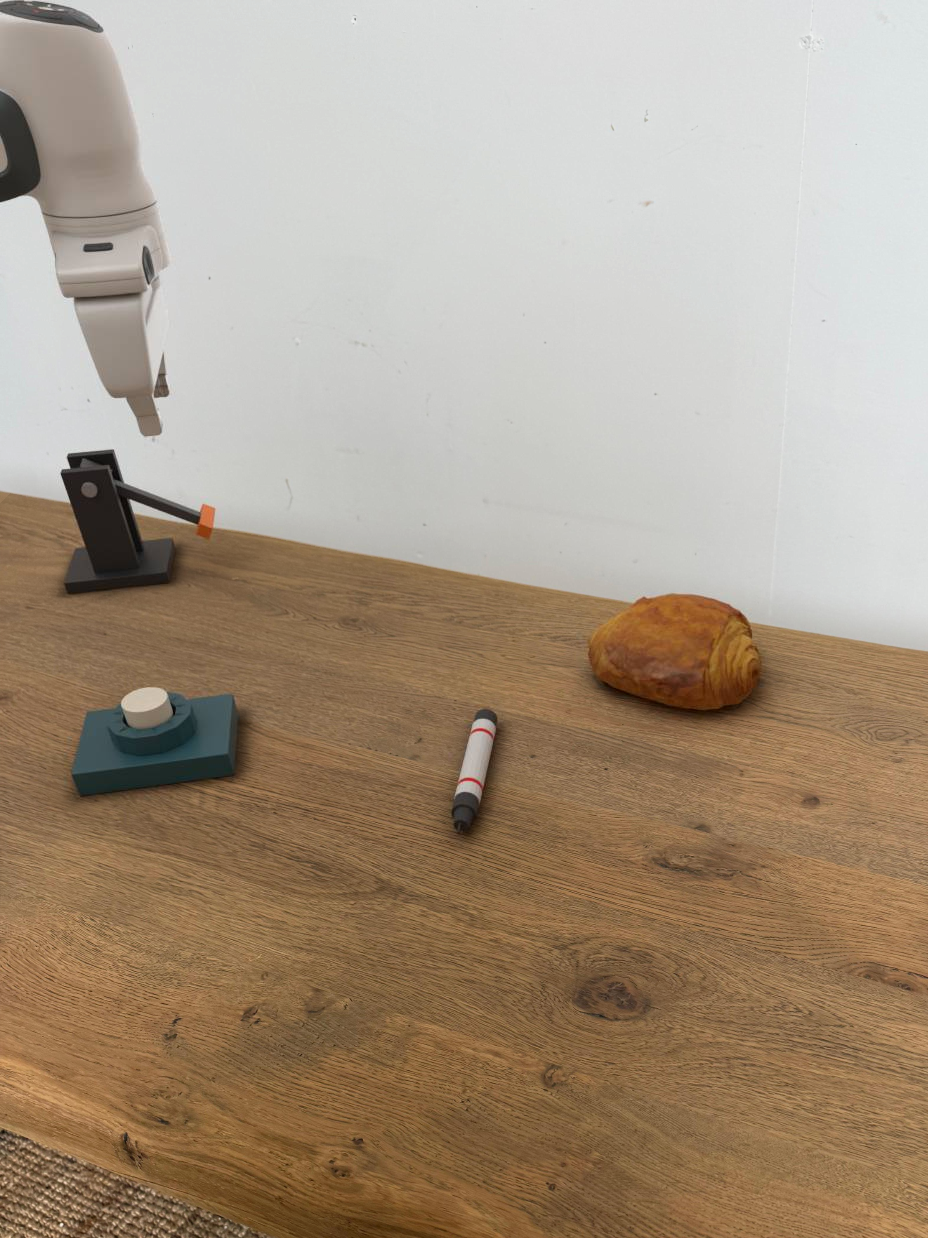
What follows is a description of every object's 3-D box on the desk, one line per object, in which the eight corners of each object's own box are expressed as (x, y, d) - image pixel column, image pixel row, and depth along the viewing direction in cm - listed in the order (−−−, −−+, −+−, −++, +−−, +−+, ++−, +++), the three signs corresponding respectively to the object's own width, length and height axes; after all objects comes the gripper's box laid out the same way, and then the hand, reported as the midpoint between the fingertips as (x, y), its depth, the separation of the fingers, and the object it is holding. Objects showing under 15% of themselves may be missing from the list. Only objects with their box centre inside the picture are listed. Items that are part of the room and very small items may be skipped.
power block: (79, 796, 94) (63, 755, 91) (94, 732, 100) (79, 693, 98) (234, 775, 96) (222, 735, 93) (238, 714, 102) (227, 675, 100)
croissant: (713, 757, 100) (727, 683, 94) (561, 685, 105) (566, 610, 99) (788, 673, 109) (805, 601, 103) (645, 611, 114) (654, 538, 108)
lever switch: (210, 523, 124) (217, 503, 123) (207, 544, 121) (214, 524, 119) (78, 473, 118) (84, 452, 117) (71, 493, 115) (77, 472, 113)
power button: (124, 732, 94) (118, 714, 93) (129, 708, 97) (123, 690, 96) (171, 726, 95) (165, 708, 93) (175, 702, 97) (169, 684, 96)
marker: (475, 727, 100) (473, 708, 99) (498, 728, 100) (496, 708, 99) (447, 844, 88) (444, 824, 87) (473, 845, 88) (470, 824, 87)
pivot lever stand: (175, 547, 127) (144, 440, 119) (169, 582, 121) (136, 471, 113) (78, 558, 125) (40, 450, 118) (67, 593, 119) (26, 482, 112)
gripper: (85, 217, 103) (131, 377, 112) (52, 281, 88) (108, 460, 97) (160, 212, 104) (199, 371, 113) (140, 274, 89) (187, 452, 98)
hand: (157, 413), depth 105 cm, fingers open, 8 cm apart
